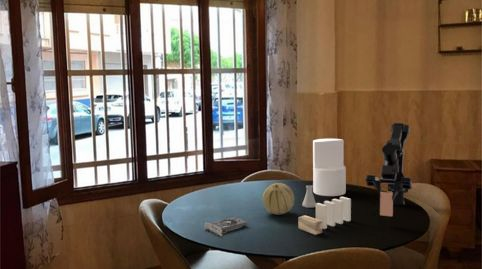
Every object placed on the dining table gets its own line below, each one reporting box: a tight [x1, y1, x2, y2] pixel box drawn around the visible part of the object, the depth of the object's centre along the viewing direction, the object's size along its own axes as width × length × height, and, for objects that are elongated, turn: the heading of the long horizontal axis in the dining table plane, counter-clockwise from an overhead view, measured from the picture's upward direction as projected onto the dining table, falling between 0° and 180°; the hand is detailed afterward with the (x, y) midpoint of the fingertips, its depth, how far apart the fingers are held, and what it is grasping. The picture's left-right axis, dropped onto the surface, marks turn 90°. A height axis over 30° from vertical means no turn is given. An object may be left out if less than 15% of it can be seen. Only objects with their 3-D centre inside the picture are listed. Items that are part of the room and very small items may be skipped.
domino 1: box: [315, 202, 328, 230], centre depth 204 cm, size 2×5×10 cm, turn 36°
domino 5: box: [379, 191, 394, 217], centre depth 204 cm, size 2×5×10 cm, turn 64°
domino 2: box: [323, 200, 336, 227], centre depth 207 cm, size 2×5×10 cm, turn 37°
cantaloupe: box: [262, 182, 295, 216], centre depth 224 cm, size 15×15×15 cm
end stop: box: [297, 215, 323, 236], centre depth 201 cm, size 4×10×5 cm, turn 36°
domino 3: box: [331, 198, 344, 225], centre depth 210 cm, size 2×5×10 cm, turn 36°
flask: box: [301, 185, 316, 209], centre depth 236 cm, size 7×7×10 cm
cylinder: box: [312, 138, 347, 197], centre depth 259 cm, size 17×17×28 cm
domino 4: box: [339, 196, 352, 222], centre depth 213 cm, size 2×5×10 cm, turn 36°
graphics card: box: [204, 216, 248, 237], centre depth 206 cm, size 17×4×12 cm
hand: (386, 198), depth 203 cm, fingers closed on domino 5, 5 cm apart
